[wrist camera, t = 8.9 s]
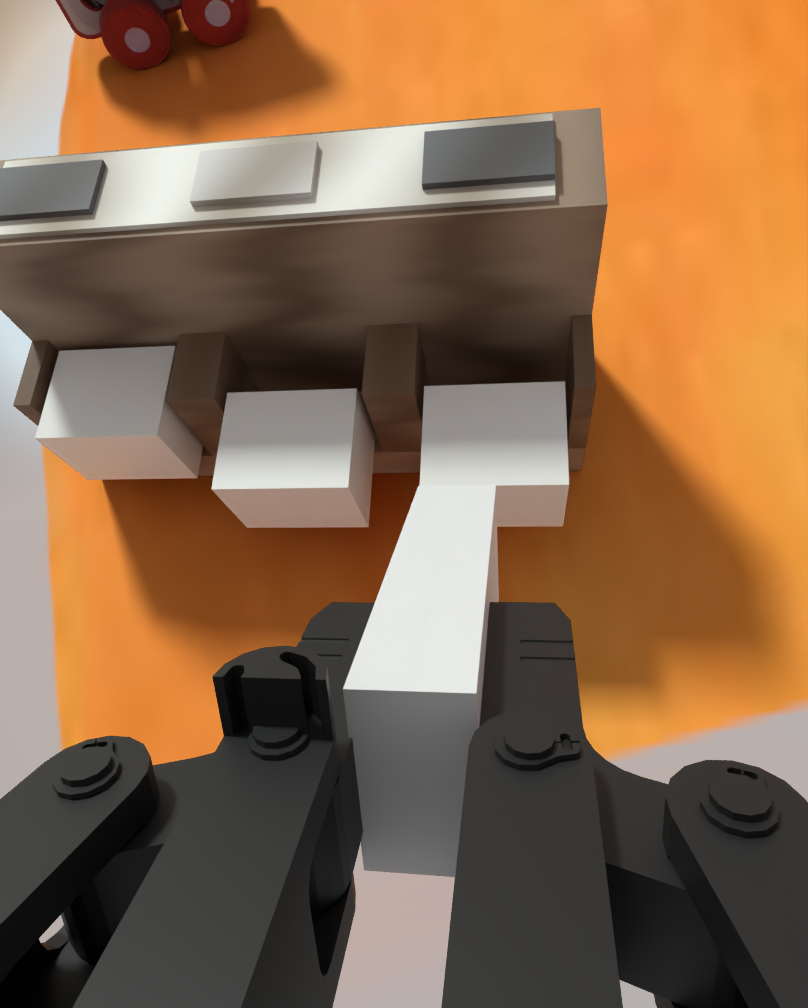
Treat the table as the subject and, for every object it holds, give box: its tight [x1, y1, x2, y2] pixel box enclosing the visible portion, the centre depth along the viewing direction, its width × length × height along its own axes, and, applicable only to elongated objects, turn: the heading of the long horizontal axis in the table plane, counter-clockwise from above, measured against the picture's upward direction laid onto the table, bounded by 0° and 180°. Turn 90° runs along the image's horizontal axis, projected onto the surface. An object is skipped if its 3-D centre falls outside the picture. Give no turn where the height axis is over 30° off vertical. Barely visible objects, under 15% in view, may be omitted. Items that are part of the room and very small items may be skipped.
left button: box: [35, 346, 203, 480], centre depth 30 cm, size 5×4×4 cm
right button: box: [420, 381, 569, 527], centre depth 27 cm, size 5×4×4 cm
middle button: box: [211, 388, 375, 528], centre depth 28 cm, size 5×4×4 cm
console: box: [0, 108, 607, 476], centre depth 29 cm, size 22×7×12 cm, turn 87°
